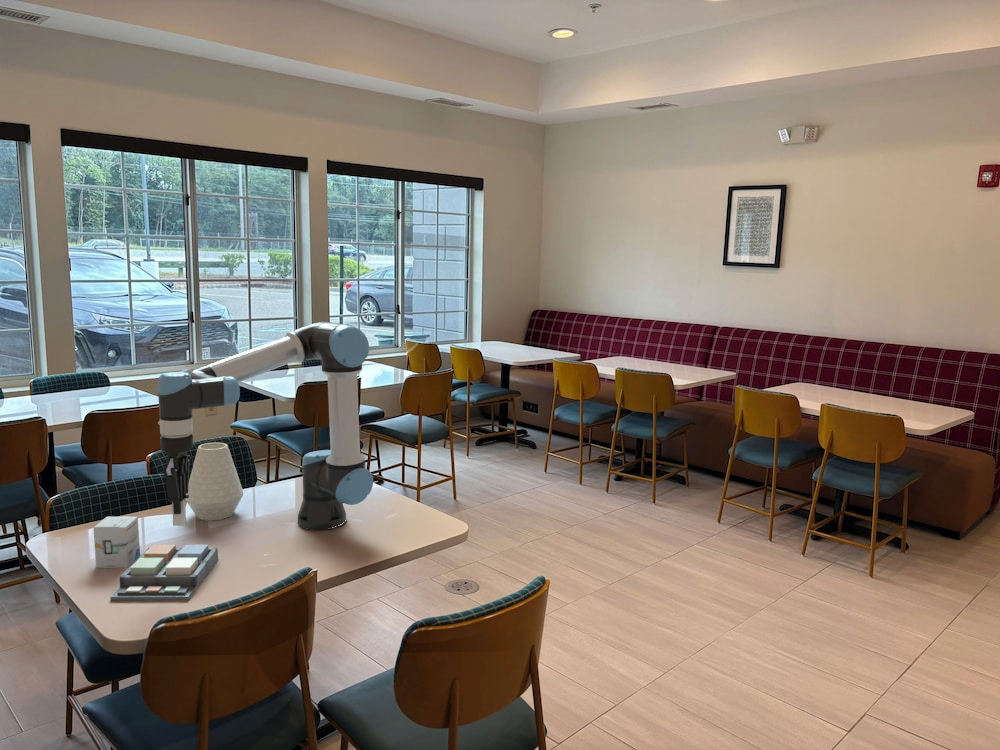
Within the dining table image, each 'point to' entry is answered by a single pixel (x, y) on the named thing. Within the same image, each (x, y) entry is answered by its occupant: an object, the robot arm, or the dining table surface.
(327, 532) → the dining table surface
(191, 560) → the key cream
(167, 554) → the key terracotta
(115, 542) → the ink box
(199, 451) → the vase
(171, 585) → the keypad
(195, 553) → the key slate
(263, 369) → the robot arm
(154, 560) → the key sage
